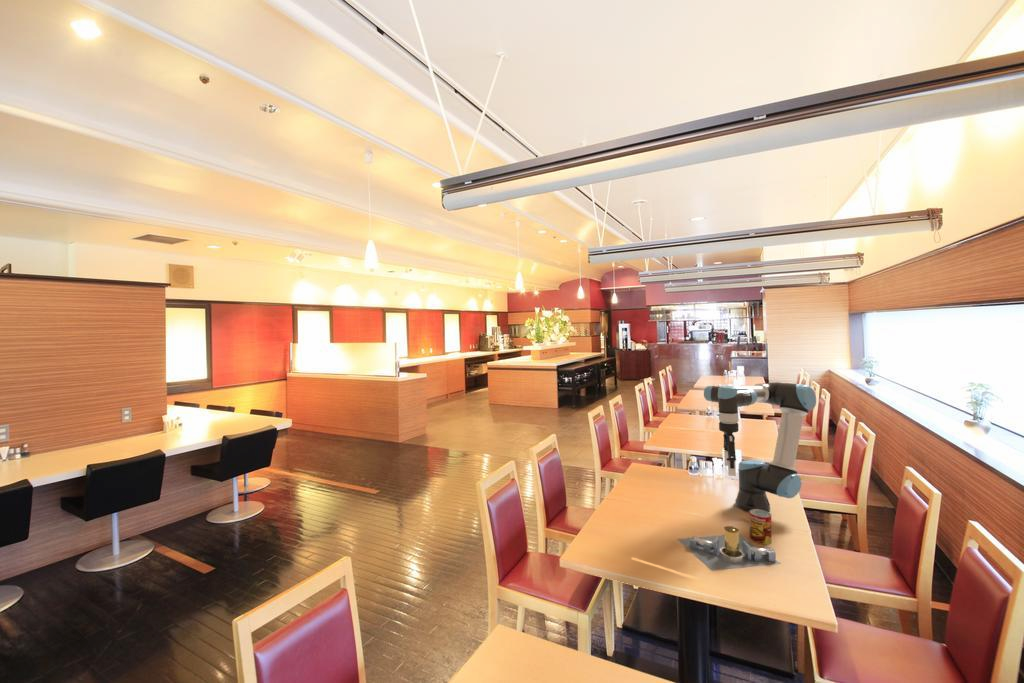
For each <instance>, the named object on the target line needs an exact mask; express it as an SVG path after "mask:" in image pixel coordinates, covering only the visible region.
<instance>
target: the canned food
mask: <svg viewBox="0 0 1024 683" xmlns="http://www.w3.org/2000/svg"><path fill="white" fill-rule="evenodd" d="M772 533H773V532H772V513H770V511H769V512H767V511H765V510H760V509H752V510H750V512H749V538H750V540H751V541H753V542H755V543H758V544H761V545H770V544H772V543H773V542H772V541H773V539H772Z"/></svg>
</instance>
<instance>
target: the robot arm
mask: <svg viewBox="0 0 1024 683" xmlns="http://www.w3.org/2000/svg"><path fill="white" fill-rule="evenodd" d="M703 397H704V399H705V400H706V401H707V402H711V403H718V413H717V417H718V421H719V422H718V429H719V431H720V432H723V450H724V451H723V452H724V453H723V454H724V456H723V459H724V466H727V471H728V472H727V473H728V476H731V477H736V476H737V472H736V470H737V469H736V461H737V456H736V445H735V444H736V443H735V439H736V438H735V436H734V433H737V432H739V423H738V422H739V408H741V407H746V406H747V407H749V406H751V405H752V406H753V405H754V404H755V403H758V404H759V403H761V404H770V405H774V406H778V408H779V410H780V411H781V416H780V417H781V418H780V423H779V427H778V433H777V438H776V444H775V449H774V455H773V459H772V461H770V462H768V466H767V464H766V462H765V461H763V460H754V459H750V460H749V459H747V460H742V461H739V464H738V470H737V471H738V492H737V495H736V498H735V501H734V502H735V503H734V504H735V506H736V508H738V509H739V510H742V511H745V512H749V513H750V510H752V509H760V510H765V511H767V512H769V513H770V512H771V504H770V501H769V498H768V496H767V493H769V494H772V495H775V496H778V497H780V498H786V499H793V498H795V497H796V496H797V495H798V494H799V492H800V491H801V488H802V478H801V476H800V475H799V474H798V469H797V468H796V467H795V464H796V459H797V454H798V448H799V443H800V442H799V441H800V437H801V431H802V426H803V422H804V417H805V416H808V415H809V411H812V410H814V409H815V407H816V406H817V397H816V393H815V389H814V388H812V387H811V386H810V385H808V384H801V383H788V382H767V383H765V382H764V383H756V384H754V385H730V386H729V385H722V386H719V385H717V386H716V385H707V386H706V387H705V388H704V390H703Z"/></svg>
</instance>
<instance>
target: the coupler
mask: <svg viewBox="0 0 1024 683" xmlns="http://www.w3.org/2000/svg"><path fill="white" fill-rule="evenodd" d="M724 535H725V554H726V555H729V556H732V557H739V535H740V531H739V528H737V527H735V526H730V525H727V526H724Z"/></svg>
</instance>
